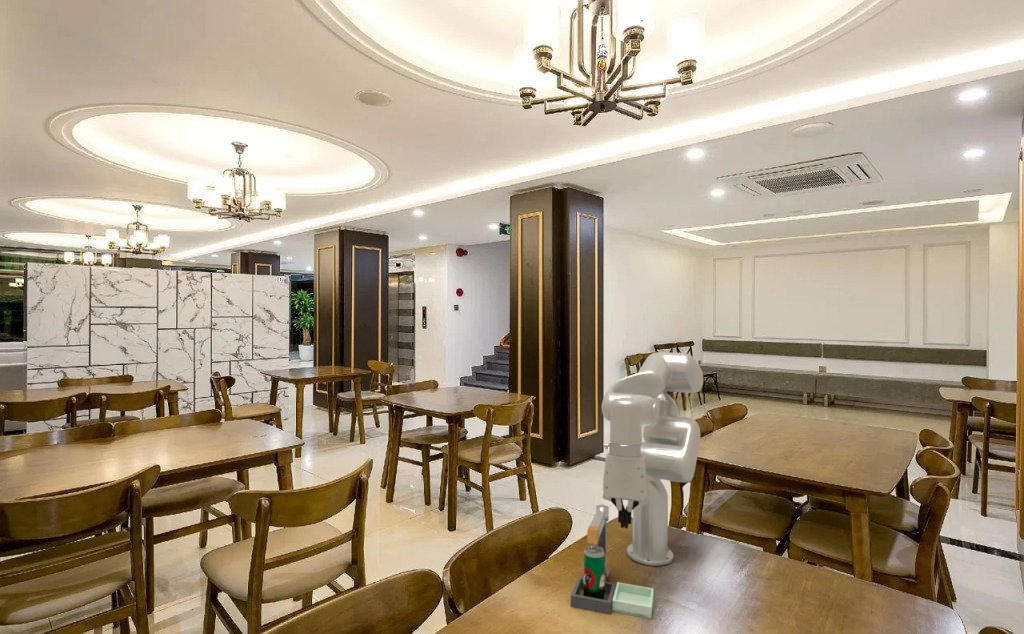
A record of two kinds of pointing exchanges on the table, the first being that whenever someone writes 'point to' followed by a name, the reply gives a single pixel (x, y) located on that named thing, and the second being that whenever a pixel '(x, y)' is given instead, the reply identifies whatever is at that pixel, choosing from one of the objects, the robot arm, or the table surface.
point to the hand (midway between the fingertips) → (624, 525)
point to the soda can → (594, 572)
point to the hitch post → (604, 547)
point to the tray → (633, 600)
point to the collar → (591, 602)
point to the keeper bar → (597, 524)
